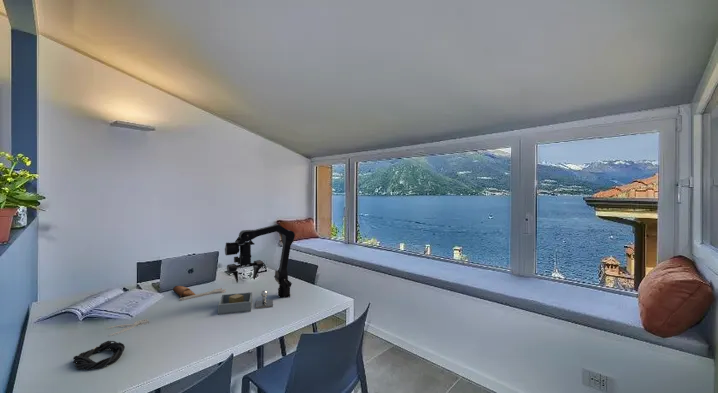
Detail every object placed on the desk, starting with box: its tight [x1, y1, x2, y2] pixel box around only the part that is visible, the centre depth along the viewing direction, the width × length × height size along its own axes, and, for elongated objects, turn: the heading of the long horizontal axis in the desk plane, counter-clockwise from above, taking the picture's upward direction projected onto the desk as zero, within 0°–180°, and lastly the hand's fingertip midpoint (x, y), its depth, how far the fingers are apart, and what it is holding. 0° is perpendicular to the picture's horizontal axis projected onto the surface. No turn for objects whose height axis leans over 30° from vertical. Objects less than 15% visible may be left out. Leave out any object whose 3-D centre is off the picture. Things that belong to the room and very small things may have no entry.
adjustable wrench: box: [179, 287, 226, 302], centre depth 180 cm, size 25×6×2 cm, turn 131°
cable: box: [73, 340, 126, 370], centre depth 110 cm, size 17×14×4 cm
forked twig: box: [105, 318, 150, 336], centre depth 136 cm, size 10×2×15 cm
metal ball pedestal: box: [255, 289, 274, 309], centre depth 165 cm, size 9×9×8 cm
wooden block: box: [229, 293, 244, 303], centre depth 161 cm, size 5×5×6 cm
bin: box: [217, 292, 253, 316], centre depth 161 cm, size 16×16×5 cm
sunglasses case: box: [172, 285, 196, 298], centre depth 182 cm, size 18×7×7 cm
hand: (245, 280), depth 167 cm, fingers open, 9 cm apart
